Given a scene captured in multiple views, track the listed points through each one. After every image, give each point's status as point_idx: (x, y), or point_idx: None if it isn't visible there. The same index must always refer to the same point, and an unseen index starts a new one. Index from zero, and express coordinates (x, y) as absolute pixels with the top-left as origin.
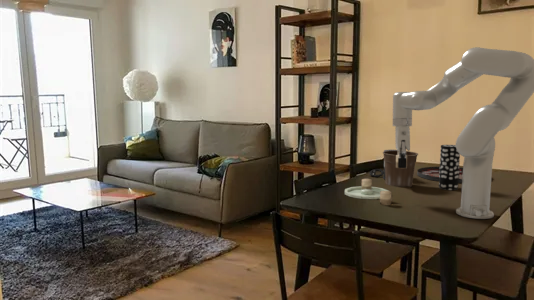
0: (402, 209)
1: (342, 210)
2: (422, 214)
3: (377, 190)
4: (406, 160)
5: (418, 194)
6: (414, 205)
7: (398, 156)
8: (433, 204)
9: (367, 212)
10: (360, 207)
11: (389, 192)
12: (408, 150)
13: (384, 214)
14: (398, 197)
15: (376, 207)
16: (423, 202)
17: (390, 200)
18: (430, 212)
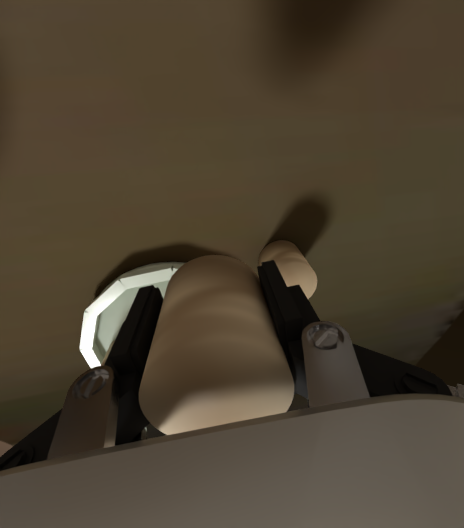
0: (345, 190)
1: (383, 353)
2: (415, 96)
3: (100, 320)
4: (241, 299)
5: (19, 137)
6: (267, 144)
7: (281, 409)
8: (215, 37)
9: (399, 293)
10: (342, 322)
11: (301, 270)
12: (445, 409)
13: (420, 243)
14: (144, 228)
15: (333, 280)
16: (192, 100)
17: (296, 249)
18: (379, 55)
